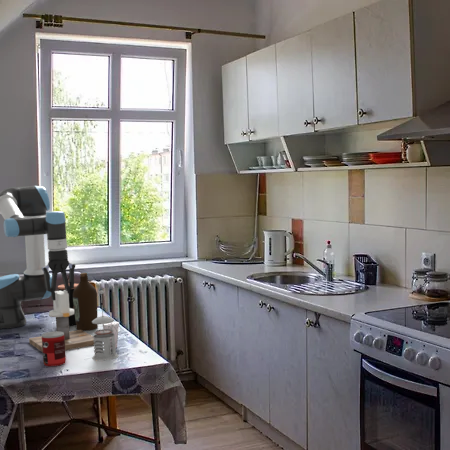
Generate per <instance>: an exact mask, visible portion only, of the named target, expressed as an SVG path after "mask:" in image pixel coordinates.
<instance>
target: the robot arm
mask: <svg viewBox="0 0 450 450" xmlns="http://www.w3.org/2000/svg"><path fill="white" fill-rule="evenodd" d="M50 202H51V201H50V198H49V194H48V191H47V188H45V187H44V186H41V185H29V186H11V187H7V188H5V189H3V190H1V191H0V215H1V216H2V218H3V219H4V221H3V232H4V235H5V237H7V238H9V237H11V238H17V237H24V238H25V259H26V261H25V262H26V269H25V270H24V271H23V276H20V275H19V274H18V273H12V274H7V275H3V276H0V329H1V330H3V329H2V328H7V329H14V328H19V327H22V326H25V325H26V324H27V318H26V316H25V313H24V311H23V309H22V302H27V301H28V302H29V301H37V300H43V299H44V300H45V299H48V298H51V300H52V301H53V300H54V305H53V309H54V308H56V309H57V308H58V296H57V292H55V291H57V290H56V289H57V277H58V274H61V278H62V282H63V284H64V286H65V289H66V290H63V291H64V292H66V293H68V294H69V298H70V289H72V288H74V284H75V269H76V264H75V263H70V261H69V257H68V256H69V255H68V249H67V248H68V243H67V227H66V225H67V224H66V223H67V222H66V221H67V219H66V213H65V212H64V211H49V210H50V209H51V207H50V206H51V203H50ZM45 235H46V237H47V239H46V240H47V250H48V252H47V254H48V255H47V256H48V262H47V265H46V254H45V253H46V250H45V249H46V248H45V246H46V245H45ZM67 269H68V271H69V272H68V275H69V276H68V275H67ZM50 271H51V273H50Z"/></svg>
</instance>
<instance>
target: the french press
mask: <svg viewBox="0 0 450 450" xmlns="http://www.w3.org/2000/svg"><path fill="white" fill-rule="evenodd" d="M98 294H99V295H100V296H101V297H100V299H101V300H100V301H101V302H103V295H104V294H105V291H104V290H99V291H98ZM103 309H104V308H103V306H101V312H102V313H101V314H102V315H101V316H97V318H96V319H94V320H93V321H92V323H93V324H98V325H102V329H101V328H100V329H97V330H96V329H95V331H94V332H93V333H94V335H92V336H93V339H94V342H95V343H94V345H93V346H94V347H93V351H94V355H93V356H92V357H91V359H92V360H94V361H97V362H99V361H100V362H103V361H111V360H114V359H116V358H118V357H119V354H118V353H117V351H116V348H115V344H116V343H115V335H114V332H113V330H112V328H111V327H110V326H108V329H104V324H107V323H111V322H115V319H114V318H113V317H112V318H111V317H109V316H105V315H104V311H103ZM112 326H113V325H112ZM109 327H110V328H111V329H109ZM113 327H114V328H115V326H113ZM115 329H116V328H115ZM112 332H113V333H112ZM116 332H117V330H116ZM110 337H112V338H111V339H110ZM111 340H112V342H110V341H111ZM117 340H119V332H118V333H117ZM116 342H117V341H116ZM117 343H118V342H117ZM110 344H111V345H110ZM111 347H112V349H111Z"/></svg>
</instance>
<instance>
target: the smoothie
mask: <svg viewBox="0 0 450 450" xmlns="http://www.w3.org/2000/svg"><path fill="white" fill-rule="evenodd" d="M109 316H110V317H111V318H113V317H112V312H109ZM112 325H113V326H115V328H116V329H115V328H114V327H113V326H112ZM108 326H110V327H111V328H112V330H113V332H114V335H115V343H116V344H115V349H117V348H118V340H119V339H118V340H117V333H118V334H119V327H120V322H119V321H113V322H111V323H107V324H104V329H108ZM110 327H109V329H111V328H110ZM116 330H117V332H116ZM113 332H112V333H113ZM111 338H112V337H110V339H111ZM116 341H117V342H116ZM110 342H112V340H111V341H110ZM110 345H111V344H110ZM111 349H112V347H111Z"/></svg>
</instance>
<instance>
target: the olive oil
mask: <svg viewBox="0 0 450 450" xmlns="http://www.w3.org/2000/svg"><path fill="white" fill-rule="evenodd" d="M88 276H89V275H88V272H81V273H79V279H80V282H79V283H77V284H78V285H77V287H76V288H75V289H74V292H73V302H74V311H75V320H76V325H75V329H76V330H82V331H84V332H87V331H93V330H96V329H97V330H98V327H99V324H93V323H92V321H93V320H94V319H96V318H98V292H97V291H98V290H97V289H96V287H95V286H94V285H93V284H91V282H90V281H89V277H88Z"/></svg>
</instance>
